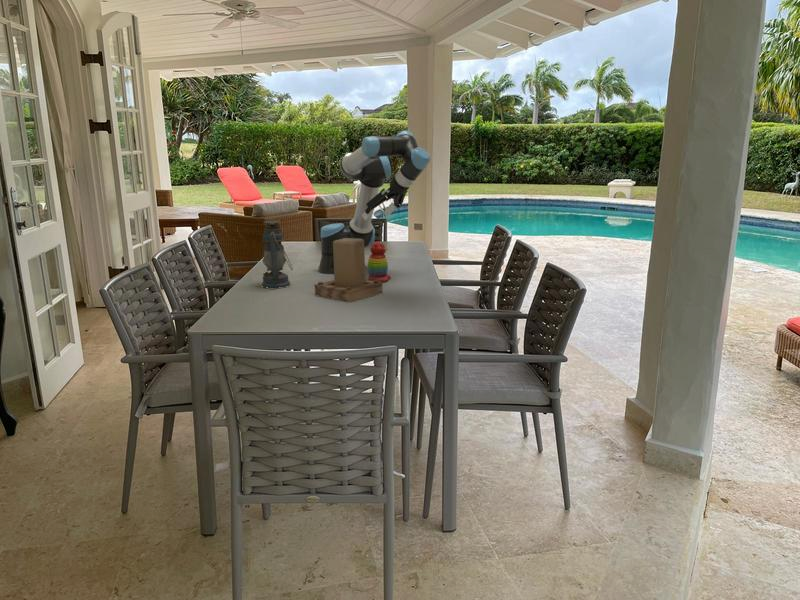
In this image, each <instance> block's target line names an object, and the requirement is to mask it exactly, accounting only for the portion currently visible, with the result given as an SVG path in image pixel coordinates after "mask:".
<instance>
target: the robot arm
mask: <svg viewBox="0 0 800 600" xmlns="http://www.w3.org/2000/svg"><path fill="white" fill-rule="evenodd" d="M389 157H401V158H402V160H403V164H402V165H401V167H400V168H399V169H398V171H396V173H395V175H394V176H393V177H392V179H391V180H390V178H391V175H392V166H391V163H390V160H389ZM430 162H431V155H430V154H429V152H428V151H427V149H424V148H422V147H420V146H419V145H418V143H417V140H416V138H415V136H414V135H413V133H412V132H411V131H409V130H402V131H399V132H398V133H396V134H395V136H392V135H391V136H374V135H371V136H366V137H365V136H364V138H363V139H362V141H361V146H360V147H358V148H357V149H356V150H354V151H353V152H348V153H347V154H345V155H344V156H343V157H342V158H341V159H340V161H339V169H340V172H341V173H342V175H343V176H345V178H347V179H349V180H351V181H359V182H360V188H359V194H358V196H357V202H356V207H355V212H354V216H353V218H352V219H351V220H350V221H349V225H345V224H344V223H342V222H341V223H340V222H338V223H331V224H326V225H324V226H322V227H321V228H320V246H321V247H320V251H321V256H320V262H319V265H318V272H319V273H322V274H333V275H334V256H333V242H334V241H335V240H339V239H343V238H356V239H363V240H364V249H365V248H370V247H371V245H372V244H373V243H375V239H376V230H375V227H374V226H373V224H372V219H373V216H374V215H373V214H374V211H375V209H376V208H377V207H378V206H379V207H380V205H381V204H383V203H384V202H387V201H389V200H392V202H390V204H389V205H388V206H387V208H386V209H385V210H384V212H383V214H384V215H385V217H386V218H389V216H390V215H392V213H393V211H394V210H395V209H396V208H398V209H399V208H400V207H401V206H402V205H403V202H404V201H405V197H406V194H407V193H408V191H409V189H410V187H411V186H412V185H413V184H414V182H415V181H416V179H418V177H419V176H420V175H421V174H422V172H423V171H424V170H425V169H426V168H427V166H428V165H429V163H430ZM385 180H386V181H387V180H390V181H389V187H388V188H387V189H385V188H382V189H381V190H380V189H379V188H381V187H383V185H384V182H385ZM379 190H380V191H379Z"/></svg>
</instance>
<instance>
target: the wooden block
mask: <svg viewBox="0 0 800 600" xmlns="http://www.w3.org/2000/svg"><path fill="white" fill-rule="evenodd" d="M333 256H334V273H333V275H334V279H333V280H334V281H335V286H338V287H344V288H346V287H351V288H353V287H356V286H360V285H364V284H365V280H366V268H365V267H366V262H365V259H366V257H365V256H366V254H365V248H364V240H363V239H356V238H343V239H339V240H335V241H334V242H333Z"/></svg>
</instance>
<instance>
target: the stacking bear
mask: <svg viewBox="0 0 800 600" xmlns="http://www.w3.org/2000/svg"><path fill="white" fill-rule="evenodd" d="M369 248H370V252H371V254H370V256H369V257H368V261H367V271H368V275H369V276H368V279H367V280H370V281H374V280H379V282H382V283H388V282H389V280H391V279H392V276H391V275H390V274H388V270H389V269H388V267H389V265H388V261H387V260H388V259H387V256H386V255H385V253H386V252H387V247H386V246H385V245H384V244H383V243H382V242H380V241H376V242H375V241H374V243H373V244H372V245H371V246H370V247H369Z"/></svg>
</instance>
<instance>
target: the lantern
mask: <svg viewBox="0 0 800 600" xmlns="http://www.w3.org/2000/svg"><path fill="white" fill-rule="evenodd" d="M262 223H263V224H266V225H265V227H263V234H262V240H261V242H264V244H265V245H264V246H263V249H262V252H263V258H262V264H264V265H265V267H266V268H267V269H266V271H265V272H264V273H263V274H262V283H261V287H262V286H263V287H268V288H276V289H280V288H279V287H284V288H287V287H286V286H288V287H290V286H291V282H290V280H289V274H287V273H284V272H283V270H284V269H283V268H284V265H285V264H286V263H287V265H288V267H289V269H290V270H291V271H294V269H293V266H292V264H291V261H290V259H289V257H288V255H287V254H286V251H285V246H284V245H283V244H282V242H283V241H285V239H284V237H283V236H284V235H283V232H282V227H280V225H279V223H282V221H281V220H277V219H270V218H269V219H267V220H264V221H263V222H262ZM289 285H290V286H289ZM263 287H262V288H263ZM268 288H267V289H268Z"/></svg>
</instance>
